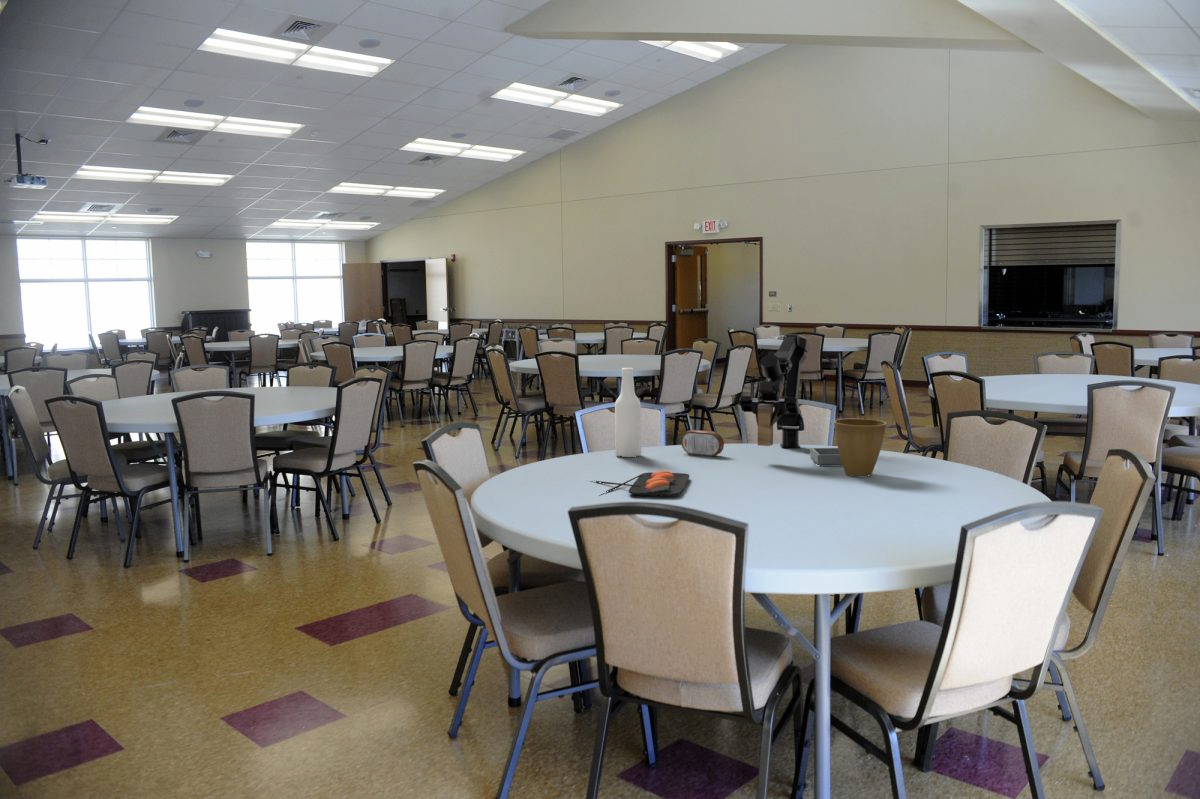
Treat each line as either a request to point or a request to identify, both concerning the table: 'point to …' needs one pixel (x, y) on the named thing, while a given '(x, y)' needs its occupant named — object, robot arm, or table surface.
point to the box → (825, 456)
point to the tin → (702, 443)
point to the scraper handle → (765, 424)
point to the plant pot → (859, 444)
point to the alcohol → (627, 418)
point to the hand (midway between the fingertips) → (764, 425)
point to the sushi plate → (656, 484)
